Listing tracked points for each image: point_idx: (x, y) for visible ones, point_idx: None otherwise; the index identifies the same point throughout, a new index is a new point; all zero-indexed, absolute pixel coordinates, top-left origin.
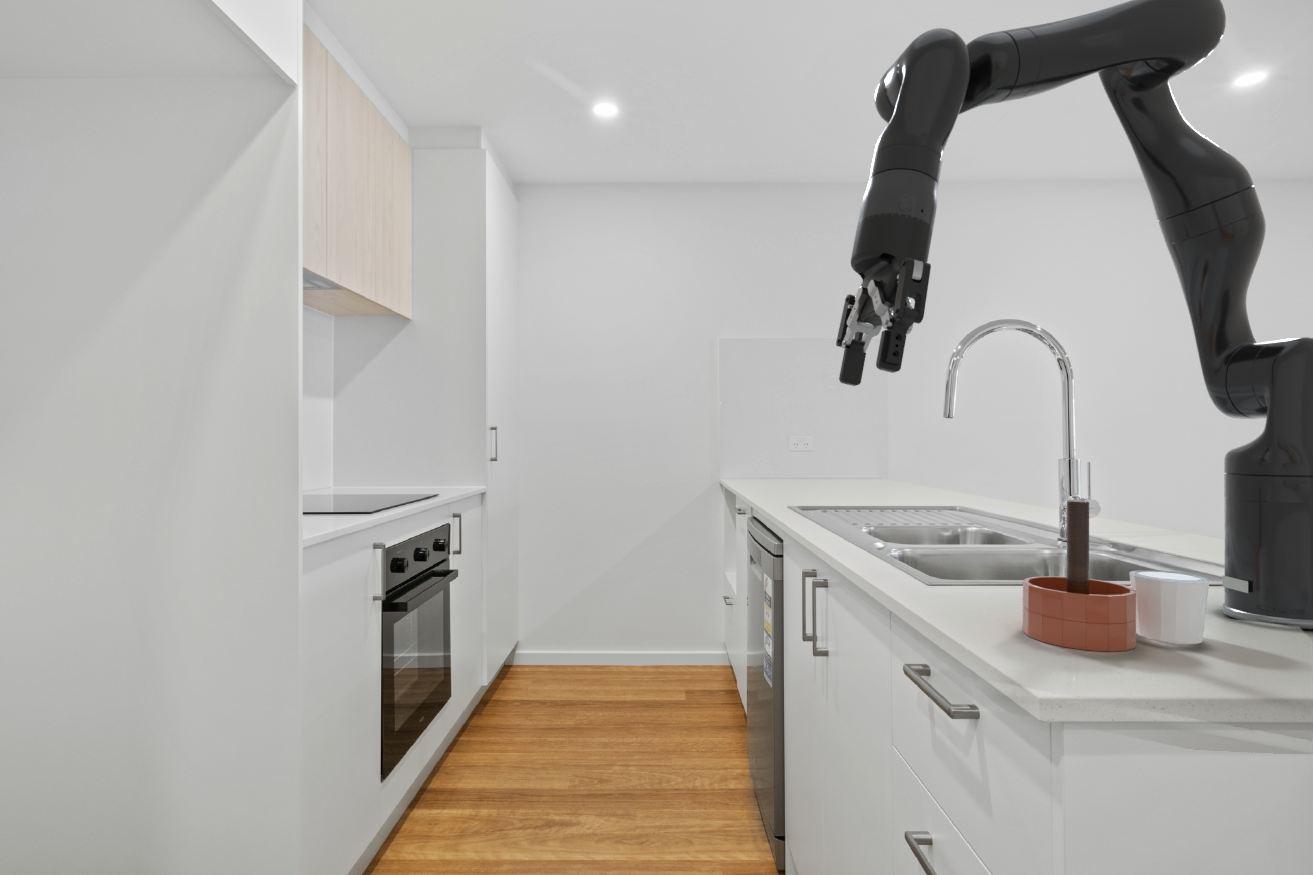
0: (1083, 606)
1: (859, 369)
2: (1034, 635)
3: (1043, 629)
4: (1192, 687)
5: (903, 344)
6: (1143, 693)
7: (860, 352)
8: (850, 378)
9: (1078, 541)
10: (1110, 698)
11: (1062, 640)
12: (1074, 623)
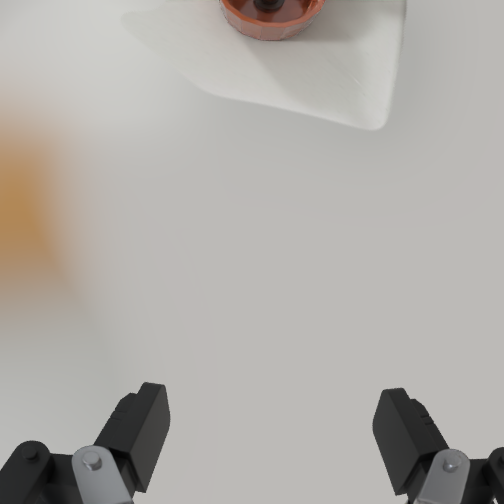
0: (316, 14)
1: (151, 418)
2: (268, 39)
3: (281, 37)
4: (382, 20)
5: (437, 432)
6: (389, 62)
7: (137, 463)
8: (163, 413)
9: None
10: (393, 92)
11: (297, 33)
12: (307, 23)
